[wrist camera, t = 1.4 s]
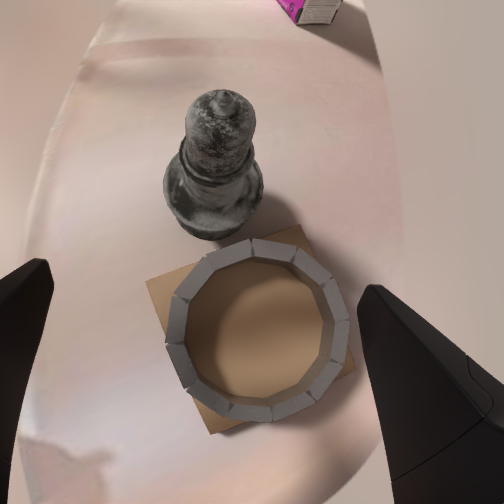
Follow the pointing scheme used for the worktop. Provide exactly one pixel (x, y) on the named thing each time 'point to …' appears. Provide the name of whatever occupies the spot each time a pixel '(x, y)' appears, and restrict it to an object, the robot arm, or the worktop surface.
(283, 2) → the candy bar box
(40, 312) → the robot arm
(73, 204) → the worktop surface
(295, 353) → the socket base
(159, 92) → the worktop surface
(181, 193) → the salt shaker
